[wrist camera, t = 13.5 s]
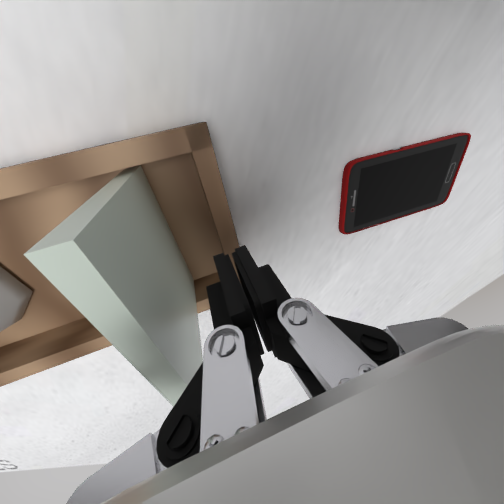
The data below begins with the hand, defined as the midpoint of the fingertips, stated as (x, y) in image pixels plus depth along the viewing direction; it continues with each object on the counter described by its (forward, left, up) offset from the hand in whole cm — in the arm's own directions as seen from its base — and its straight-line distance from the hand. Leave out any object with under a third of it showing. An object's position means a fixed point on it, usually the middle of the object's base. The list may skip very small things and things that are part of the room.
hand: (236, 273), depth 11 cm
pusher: (+4, 0, -7) cm, 8 cm away
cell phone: (-20, +3, -9) cm, 22 cm away
